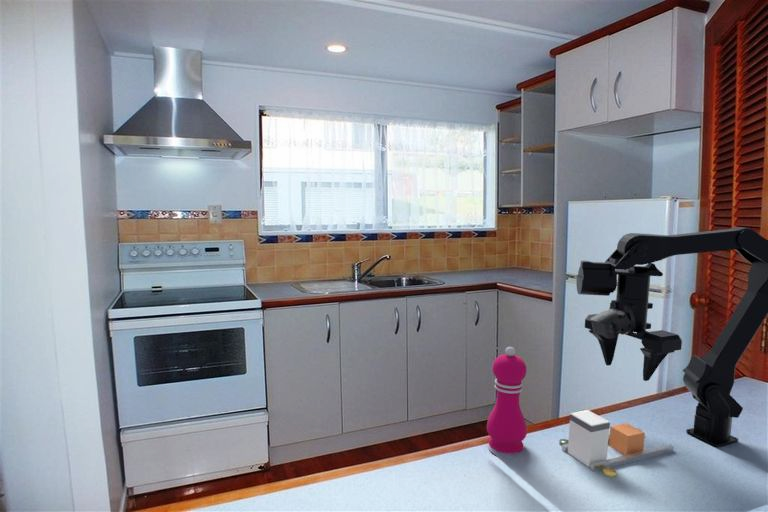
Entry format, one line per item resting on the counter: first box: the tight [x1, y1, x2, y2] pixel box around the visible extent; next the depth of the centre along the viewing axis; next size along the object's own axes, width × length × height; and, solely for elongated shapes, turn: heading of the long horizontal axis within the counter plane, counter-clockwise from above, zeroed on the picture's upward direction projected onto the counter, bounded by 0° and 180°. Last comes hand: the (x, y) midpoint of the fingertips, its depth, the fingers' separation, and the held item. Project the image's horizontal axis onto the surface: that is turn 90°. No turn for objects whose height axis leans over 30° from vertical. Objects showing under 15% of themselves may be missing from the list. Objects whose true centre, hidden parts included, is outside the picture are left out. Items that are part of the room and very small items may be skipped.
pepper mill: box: [486, 346, 528, 458], centre depth 90 cm, size 7×7×20 cm
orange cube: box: [608, 422, 646, 456], centre depth 90 cm, size 4×4×4 cm
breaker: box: [567, 409, 611, 468], centre depth 87 cm, size 4×5×8 cm
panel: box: [558, 427, 675, 478], centre depth 90 cm, size 20×14×2 cm
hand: (626, 372), depth 100 cm, fingers open, 9 cm apart
